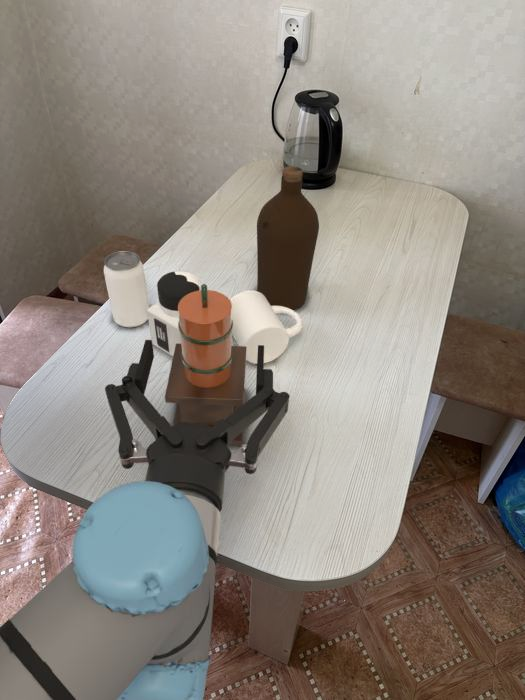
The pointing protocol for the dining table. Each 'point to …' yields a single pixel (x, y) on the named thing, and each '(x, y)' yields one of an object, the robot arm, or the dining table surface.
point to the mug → (261, 325)
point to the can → (126, 288)
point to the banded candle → (206, 337)
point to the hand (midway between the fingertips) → (205, 350)
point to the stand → (207, 393)
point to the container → (169, 308)
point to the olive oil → (286, 243)
